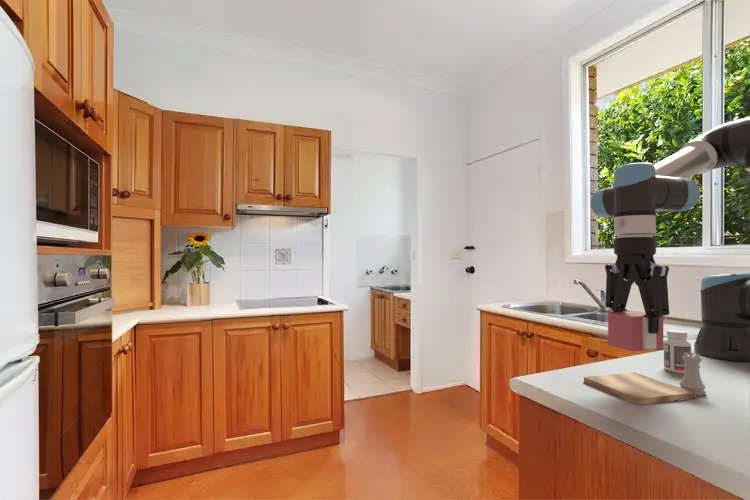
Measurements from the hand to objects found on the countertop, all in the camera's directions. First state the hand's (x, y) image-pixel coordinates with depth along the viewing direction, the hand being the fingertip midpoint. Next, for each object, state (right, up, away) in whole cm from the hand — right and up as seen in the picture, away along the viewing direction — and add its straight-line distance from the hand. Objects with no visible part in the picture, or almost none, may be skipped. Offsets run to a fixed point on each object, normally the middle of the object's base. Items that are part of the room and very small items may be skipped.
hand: (635, 344), depth 85 cm
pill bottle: (+20, -10, +14) cm, 26 cm away
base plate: (0, -10, 0) cm, 10 cm away
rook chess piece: (+11, -10, -2) cm, 15 cm away
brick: (0, 0, 0) cm, 0 cm away
